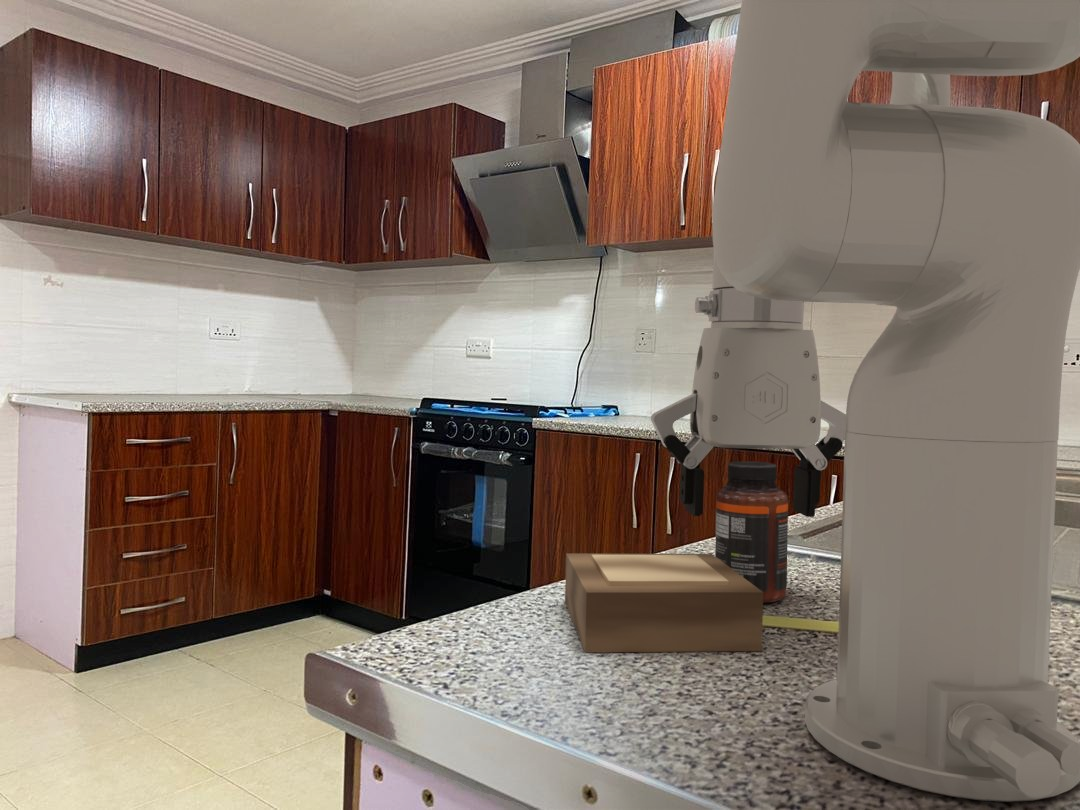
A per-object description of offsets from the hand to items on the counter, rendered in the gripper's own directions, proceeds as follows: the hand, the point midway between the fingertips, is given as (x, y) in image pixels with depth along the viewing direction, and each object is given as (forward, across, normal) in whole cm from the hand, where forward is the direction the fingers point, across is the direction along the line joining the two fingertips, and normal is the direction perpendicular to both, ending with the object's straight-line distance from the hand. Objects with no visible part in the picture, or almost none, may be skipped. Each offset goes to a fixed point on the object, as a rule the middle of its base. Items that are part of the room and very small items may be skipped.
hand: (748, 513), depth 70 cm
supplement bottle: (+7, 0, -1) cm, 7 cm away
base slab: (+7, -10, -9) cm, 15 cm away
